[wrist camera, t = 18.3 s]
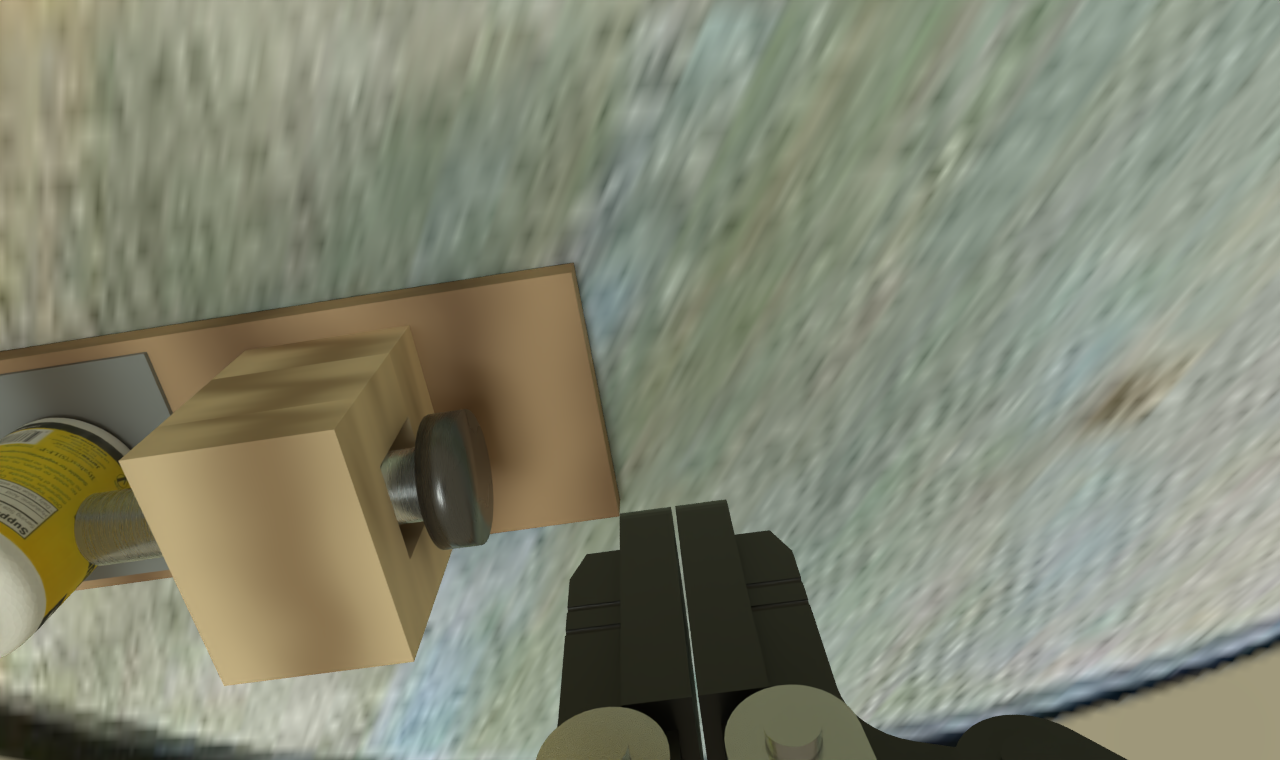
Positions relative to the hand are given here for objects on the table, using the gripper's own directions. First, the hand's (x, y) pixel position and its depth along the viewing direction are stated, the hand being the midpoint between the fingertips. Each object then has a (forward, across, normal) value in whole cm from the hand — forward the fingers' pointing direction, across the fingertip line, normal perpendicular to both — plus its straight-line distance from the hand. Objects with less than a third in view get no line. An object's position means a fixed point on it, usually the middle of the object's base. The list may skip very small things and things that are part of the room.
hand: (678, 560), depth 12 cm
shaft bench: (+20, +15, +6) cm, 26 cm away
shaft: (+16, +13, +6) cm, 21 cm away
